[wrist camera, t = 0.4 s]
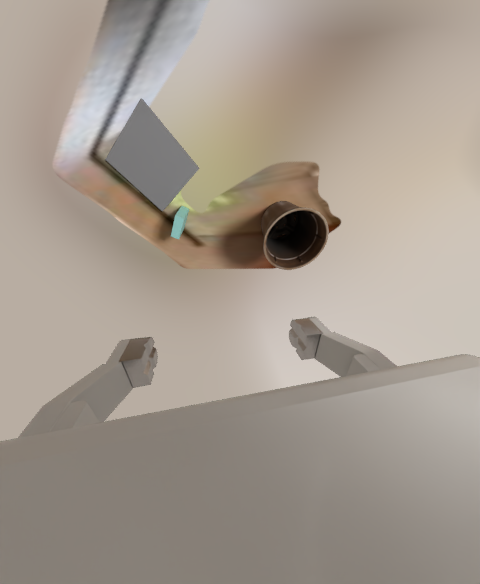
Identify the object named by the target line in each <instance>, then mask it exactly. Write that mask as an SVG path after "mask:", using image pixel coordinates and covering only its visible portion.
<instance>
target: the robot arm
mask: <svg viewBox="0 0 480 584" xmlns="http://www.w3.org/2000/svg"><path fill="white" fill-rule="evenodd" d="M291 327H292V329H291V330H290V331H289V339H290V342H291V344H292V346H294V347H295V348H297V350H296V352H297V354H298V355H299V357H300V358H301V360H304V359H311V358H315V359H316V360H318V361H319V362H320V363H322V364H323V365H325V366H326V367H328V368H329V369H330V370H332V371H333V372H335V373H336V374H338V375H339V376H341V377H339V378H334V379H329V380H323V381H318V382H313V383H307V384H302V385H297V386H291V387H286V388H281V389H275V390H270V391H265V392H260V393H255V394H249V395H244V396H238V397H233V398H228V399H222V400H217V401H212V402H207V403H201V404H196V405H191V406H185V407H180V408H175V409H169V410H164V411H160V412H154V413H148V414H143V415H138V416H133V417H127V418H122V419H116V420H112V421H106V422H104V421H105V420H106V418H107V417H108V416H109V415H110V414H111V413H112V412H113V411H114V409H115V408H116V407H117V406H118V404H120V402H121V401H122V400H123V399H124V398H125V397H126V396H127V395H128V393H129V392H130V391H131V390H132V389H133V388H135V387H140V386H145V385H150V384H151V381H152V378H153V375H154V372H153V369H154V368H155V367H156V364H157V357H158V356H157V350H156V348H154V347H153V345H154V340H153V338H152V337H147V338H135V339H127V340H121V341H120V342H119V343H118V344H117V346H116V348H115V349H114V351H113V353H112V354H111V356H110V358H109V359H108V361H107V362H106V364H102V365H101V366H99V367H98V368H96V369H95V370H94V371H92V372H91V373H89V374H88V375H87V376H85V377H84V378H82V379H81V380H79V381H78V382H77V383H75V384H74V385H72V386H71V387H69V388H68V389H67V390H65V391H64V392H62V393H61V394H59V395H58V396H57V397H55V398H54V399H52V400H51V401H49V402H48V403H47V404H45V405H44V406H43V407H42V408H41V409H40V411H39V412H38V413H37V414H36V416H35V417H34V418H33V419H32V421H31V422H30V423H29V424H28V426H27V427H26V428H25V429H24V431H23V432H22V433H21V434H20V436H19V437H18V438H16V439H11V440H5V441H0V584H480V357H476V356H472V355H466V354H465V355H455V356H450V357H445V358H440V359H435V360H429V361H424V362H419V363H414V364H408V365H403V366H396V365H395V364H394V363H392V362H391V361H390V360H389V359H388V358H387V357H385V356H384V355H383V354H382V353H380V352H379V351H378V350H376V349H373V348H371V347H368V346H366V345H363V344H361V343H359V342H356V341H354V340H352V339H349V338H347V337H345V336H342V335H340V334H337V333H335V332H331V331H330V330H329V329H328V328H327V327H326V326H324V324H323V323H322V322H321V321H320V320H319V319H318V318H316V317H309V318H303V319H296V320H292V321H291Z"/></svg>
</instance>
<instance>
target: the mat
mask: <svg viewBox="0 0 480 584" xmlns="http://www.w3.org/2000/svg"><path fill="white" fill-rule="evenodd" d="M105 160H106V161H107V162H109V163H110V164H111V165H112V166H113V167H114V168H115V169H116V170H117V171H118V172H120V173H121V174H122V175H123V176H124V177H125V178H126V179H127V180H128V181H129V182H131V183H132V184H133V185H134V186H135V187H136V188H137V189H138V190H139V191H140V192H142V193H143V194H144V195H145V196H146V197H147V198H148V199H149V200H150V201H151V202H153V203H154V204H155V205H156V206H157V207H158V208H159V209H160V210H161V211H163V210H164V209H165V208H166V207H167V206H168V204H169V203H170V202H171V201H172V200H173V198H174V197H175V196H176V195H177V194H178V193H179V191H180V190H181V189H182V188H183V187H184V185H185V184H186V183H187V182H188V181H189V180H190V179H191V177H192V176H193V175H194V174H195V173H196V171H197V170H198V169H199V167H198V166H197V165H196V163H195V162H194V161H193V160H192V159H191V157H190V156H189V155H188V154H187V153H186V151H185V150H184V149H183V148H182V146H181V145H180V144H179V143H178V142H177V140H176V139H175V138H174V137H173V136H172V134H171V133H170V132H169V131H168V130H167V128H166V127H165V126H164V125H163V124H162V122H161V121H160V120H159V119H158V118H157V116H156V115H155V114H154V113H153V111H152V110H151V109H150V108H149V107H148V105H147V104H146V103H145V102H144V100H143V99H141V100H140V101H139V103H138V105H137V106H136V108H135V110H134V111H133V113H132V115H131V117H130V118H129V120H128V122H127V123H126V125H125V127H124V129H123V130H122V132H121V134H120V135H119V137H118V139H117V141H116V142H115V144H114V146H113V147H112V149H111V151H110V152H109V154H108V156H107V158H106V159H105Z"/></svg>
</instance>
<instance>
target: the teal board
mask: <svg viewBox="0 0 480 584" xmlns="http://www.w3.org/2000/svg"><path fill="white" fill-rule="evenodd" d="M188 212H189V209H188V208H186V207H184V206H181V208H180V209H179V211H178V212H177V214H176V215H175V219H174V223H173V228H172V233H171V237H174V238H177V239H179V238H180V236H181V234H182V232H183V229H184V227H185V223H186V220H187V216H188Z"/></svg>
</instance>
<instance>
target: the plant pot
mask: <svg viewBox="0 0 480 584" xmlns="http://www.w3.org/2000/svg"><path fill="white" fill-rule="evenodd" d="M294 214H295V215H296V221H294ZM283 216H285V218H283ZM284 224H285V226H283V225H284ZM277 226H278V228H276V227H277ZM261 227H262V231H263V235H264V244H263V247H264V253H265V256H266V258H267V260H268V261H269V262H270V263H271V264H272V265H273V266H275V267H277V268H280V269H284V270H292V269H297V268H300V267H303V266H305V265H307V264H309V263H310V262H312V261H313V260H314V259H315V258H316V257H317V256H318V255H319V254H320V253H321V251H322V250H323V249H324V247H325V245H326V242H327V239H328V225H327V222H326V220H325V218H324V217H323V216H322V215H321V214H320V213H319V212H317V211H316V210H313V209H310V208H302V207H298V206H296V205H294V204H292V203H290V202H287V201H280V202H277V203H274V204H272V205H271V206H270V207H268V208H267V210H266V212H265V213H264V215H263V217H262V220H261ZM283 234H285V236H282V237H278V236H280V235H283Z"/></svg>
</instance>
